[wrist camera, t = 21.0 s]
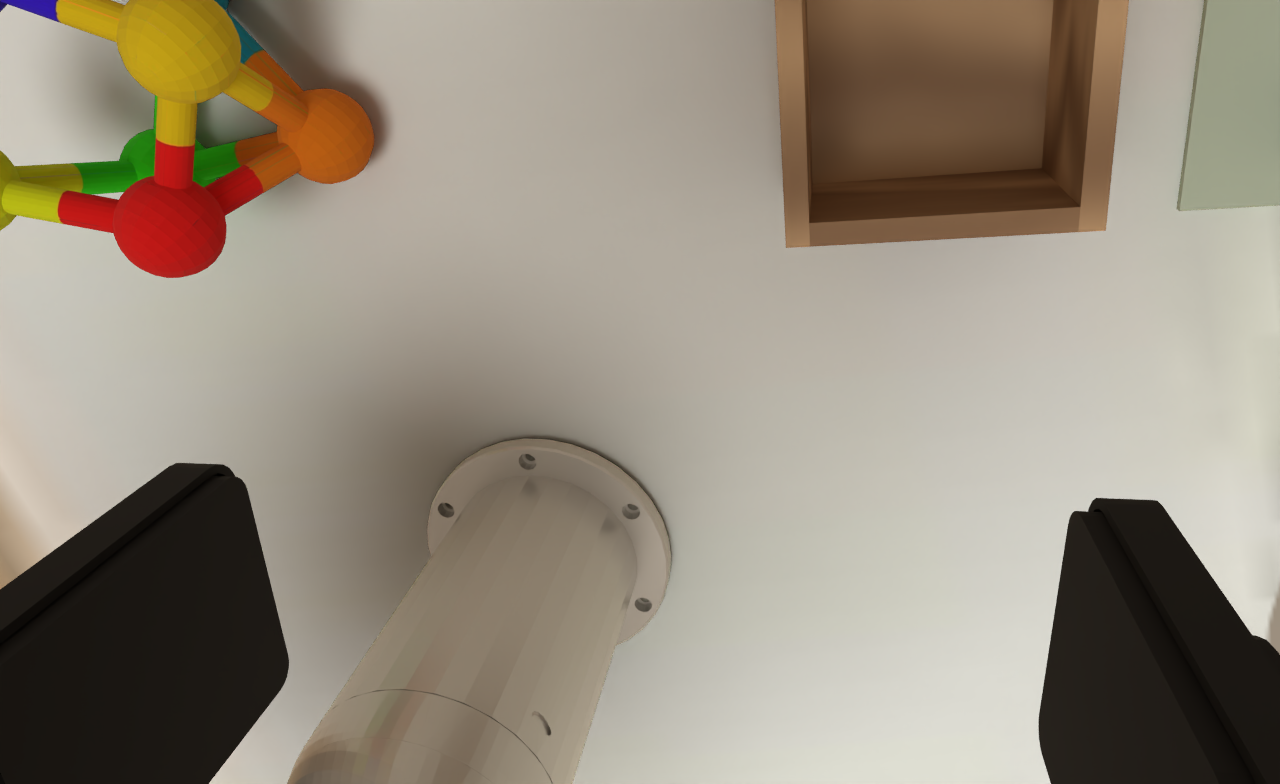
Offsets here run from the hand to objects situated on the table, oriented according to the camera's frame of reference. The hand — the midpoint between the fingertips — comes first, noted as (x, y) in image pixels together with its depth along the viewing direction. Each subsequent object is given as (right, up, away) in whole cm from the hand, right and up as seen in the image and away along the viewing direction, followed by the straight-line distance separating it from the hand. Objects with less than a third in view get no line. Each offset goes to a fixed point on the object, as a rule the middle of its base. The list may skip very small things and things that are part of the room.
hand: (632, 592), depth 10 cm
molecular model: (-18, +16, +29) cm, 38 cm away
